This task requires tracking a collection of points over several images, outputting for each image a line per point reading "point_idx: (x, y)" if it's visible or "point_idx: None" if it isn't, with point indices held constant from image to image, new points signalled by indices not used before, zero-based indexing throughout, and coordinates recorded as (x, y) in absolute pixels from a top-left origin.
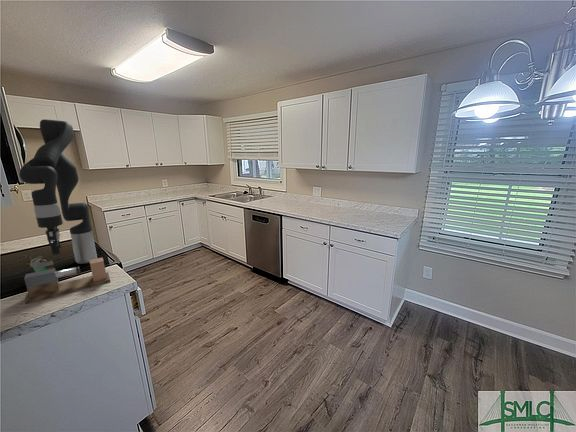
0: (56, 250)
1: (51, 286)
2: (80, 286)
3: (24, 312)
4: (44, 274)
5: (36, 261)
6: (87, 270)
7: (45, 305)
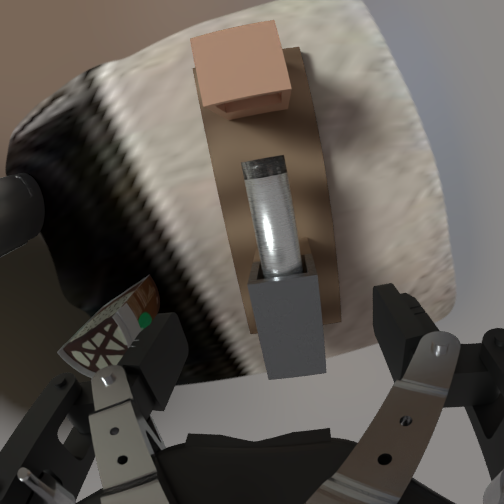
0: (421, 317)
1: None
2: (316, 157)
3: None
4: (320, 312)
5: (99, 363)
6: (108, 175)
7: (392, 255)
